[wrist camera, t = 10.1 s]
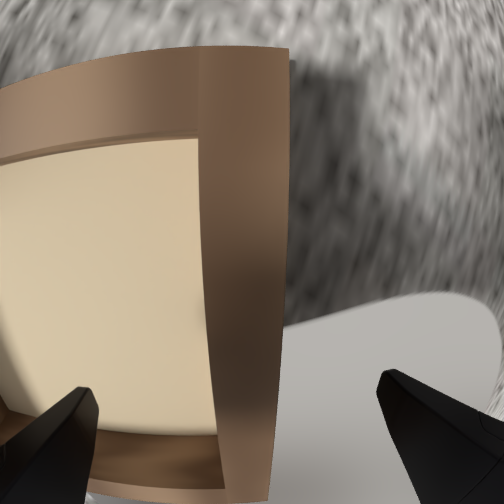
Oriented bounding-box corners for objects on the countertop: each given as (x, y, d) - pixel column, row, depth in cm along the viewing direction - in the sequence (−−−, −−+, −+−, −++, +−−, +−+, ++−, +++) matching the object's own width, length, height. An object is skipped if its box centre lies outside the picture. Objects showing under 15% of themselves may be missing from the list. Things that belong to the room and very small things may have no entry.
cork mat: (286, 60, 9) (289, 58, 9) (271, 455, 15) (271, 458, 15) (-85, 142, 7) (-88, 142, 7) (0, 425, 13) (-2, 428, 13)
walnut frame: (265, 81, 9) (288, 48, 6) (258, 451, 15) (267, 500, 11) (-80, 155, 7) (-123, 163, 4) (2, 423, 13) (-15, 456, 9)
